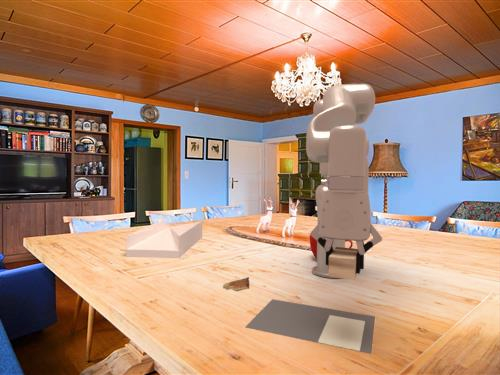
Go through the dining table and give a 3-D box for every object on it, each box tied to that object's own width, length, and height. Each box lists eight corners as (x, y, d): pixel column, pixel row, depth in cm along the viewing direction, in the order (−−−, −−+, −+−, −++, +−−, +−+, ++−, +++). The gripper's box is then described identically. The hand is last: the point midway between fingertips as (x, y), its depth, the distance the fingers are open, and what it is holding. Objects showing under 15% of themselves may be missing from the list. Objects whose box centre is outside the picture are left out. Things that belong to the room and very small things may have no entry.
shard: (248, 281, 106) (248, 276, 106) (265, 287, 101) (265, 281, 101) (222, 289, 99) (222, 283, 99) (238, 296, 93) (238, 289, 93)
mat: (272, 301, 88) (272, 298, 88) (375, 318, 78) (375, 316, 78) (244, 329, 72) (244, 326, 72) (370, 356, 62) (370, 353, 62)
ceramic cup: (354, 266, 124) (354, 239, 124) (308, 263, 128) (309, 237, 127) (350, 257, 137) (351, 234, 137) (309, 255, 140) (310, 232, 140)
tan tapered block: (354, 279, 64) (354, 259, 64) (328, 276, 66) (328, 256, 66) (358, 267, 73) (359, 249, 73) (335, 264, 75) (336, 246, 75)
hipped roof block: (179, 259, 133) (179, 236, 133) (126, 257, 135) (126, 234, 134) (202, 238, 178) (202, 221, 178) (162, 237, 180) (162, 220, 179)
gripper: (302, 184, 69) (300, 270, 70) (389, 186, 62) (387, 280, 63) (310, 184, 76) (308, 261, 77) (389, 185, 69) (387, 270, 70)
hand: (344, 269), depth 70 cm, fingers closed on tan tapered block, 5 cm apart
